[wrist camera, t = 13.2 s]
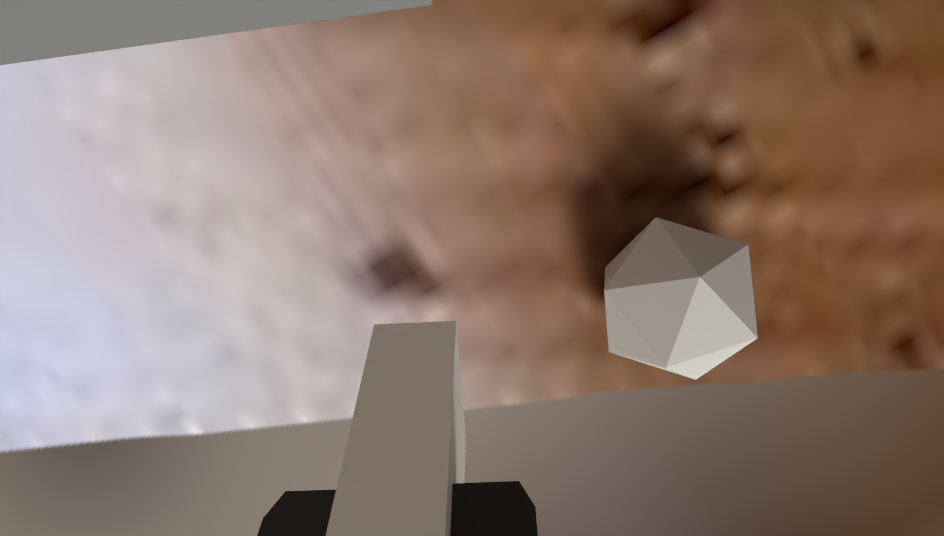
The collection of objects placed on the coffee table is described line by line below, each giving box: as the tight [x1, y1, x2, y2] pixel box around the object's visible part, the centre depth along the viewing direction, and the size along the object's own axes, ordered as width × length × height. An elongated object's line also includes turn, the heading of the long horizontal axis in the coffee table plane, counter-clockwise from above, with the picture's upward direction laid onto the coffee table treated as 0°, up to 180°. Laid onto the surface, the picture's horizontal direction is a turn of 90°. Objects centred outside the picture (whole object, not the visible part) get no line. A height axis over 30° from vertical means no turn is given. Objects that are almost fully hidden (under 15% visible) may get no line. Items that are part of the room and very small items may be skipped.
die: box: [604, 217, 758, 380], centre depth 42 cm, size 8×9×10 cm
